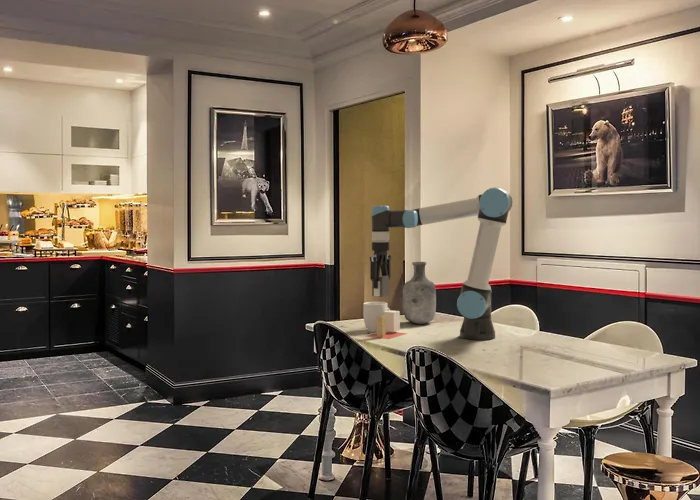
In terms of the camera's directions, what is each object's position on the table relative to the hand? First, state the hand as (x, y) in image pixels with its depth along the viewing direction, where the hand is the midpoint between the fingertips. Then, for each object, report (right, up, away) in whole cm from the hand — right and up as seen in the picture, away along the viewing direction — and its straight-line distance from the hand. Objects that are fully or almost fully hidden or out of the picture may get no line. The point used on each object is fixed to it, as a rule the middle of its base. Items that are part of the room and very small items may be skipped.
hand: (380, 295), depth 294 cm
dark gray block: (0, 0, 0) cm, 0 cm away
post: (0, -18, +1) cm, 18 cm away
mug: (-1, -18, +19) cm, 26 cm away
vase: (+21, -17, +39) cm, 47 cm away
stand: (+3, -18, +6) cm, 20 cm away
